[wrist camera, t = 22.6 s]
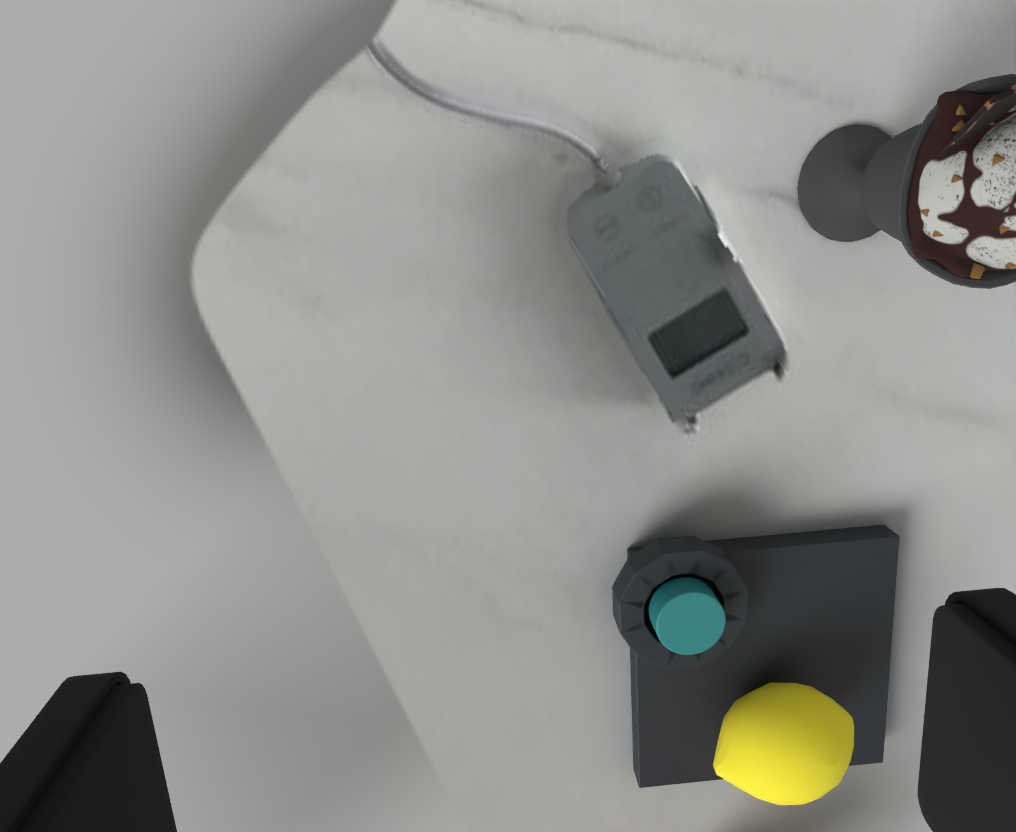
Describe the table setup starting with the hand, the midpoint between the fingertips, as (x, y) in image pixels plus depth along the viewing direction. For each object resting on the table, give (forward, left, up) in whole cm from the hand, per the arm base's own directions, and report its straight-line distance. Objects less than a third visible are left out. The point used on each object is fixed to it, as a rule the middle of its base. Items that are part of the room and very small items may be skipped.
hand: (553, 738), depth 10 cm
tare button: (+9, -13, -26) cm, 30 cm away
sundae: (+17, +5, -28) cm, 33 cm away
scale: (+13, -18, -28) cm, 36 cm away
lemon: (+13, -20, -27) cm, 36 cm away
